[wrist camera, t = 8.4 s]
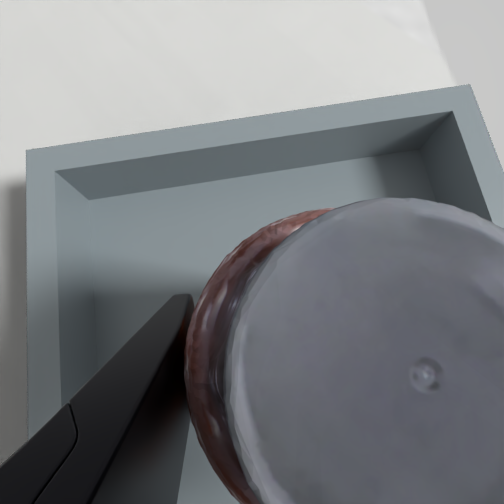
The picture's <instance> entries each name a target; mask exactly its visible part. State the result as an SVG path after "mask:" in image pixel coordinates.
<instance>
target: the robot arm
mask: <svg viewBox="0 0 504 504" xmlns="http://www.w3.org/2000/svg"><path fill="white" fill-rule="evenodd" d="M194 309H195V307H194V301H193V297H192V295H191V294H190V293H185V294H175V295H173V296H172V297H171V298H170V299H169V300H168V301H167V302H166V303H165V304H164V305H163V306H162V307H161V308H160V309H159V310H158V311H157V312H156V313H155V314H154V315H153V316H152V317H151V318H150V319H149V320H148V321H147V322H146V323H145V324H144V325H143V326H142V327H141V328H140V329H139V330H138V331H137V332H136V333H135V334H134V335H133V336H132V337H131V338H130V339H129V340H128V341H127V342H126V343H125V344H124V345H123V346H122V347H121V348H120V349H119V350H118V351H117V352H116V353H115V354H114V355H113V356H112V357H111V358H110V359H109V360H108V361H107V362H106V363H105V364H104V365H103V366H102V367H101V368H100V369H99V370H98V371H97V372H96V373H95V374H94V375H93V376H92V377H91V378H90V379H89V380H88V381H87V382H86V383H85V384H84V385H83V386H82V388H81V389H80V390H79V391H78V392H77V393H76V394H75V395H74V396H73V397H72V398H71V399H70V400H69V403H70V404H69V403H66V404H64V405H63V406H62V407H61V408H60V410H59V411H58V412H57V413H56V414H55V415H54V416H53V417H52V418H51V419H50V420H49V421H48V422H46V423H45V424H44V425H43V426H42V427H41V428H40V429H39V430H38V431H37V432H36V433H35V434H34V435H33V436H32V437H31V438H30V439H29V440H28V441H27V442H26V443H25V444H24V445H23V446H22V447H20V448H19V449H18V450H17V451H16V452H15V453H14V454H13V455H12V456H10V457H9V458H8V459H7V460H6V461H5V462H4V463H3V464H2V465H1V466H0V504H177V500H178V493H179V487H180V481H181V475H182V469H183V463H184V456H185V450H186V444H187V438H188V432H189V425H190V419H191V418H190V414H189V409H188V404H187V399H186V387H185V382H184V349H185V346H186V337H187V332H188V328H189V325H190V322H191V318H192V314H193V312H194Z"/></svg>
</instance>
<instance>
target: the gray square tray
mask: <svg viewBox="0 0 504 504" xmlns="http://www.w3.org/2000/svg"><path fill="white" fill-rule="evenodd" d="M393 197H394V198H417V199H423V200H430V201H434V202H437V203H444V204H448V205H452V206H455V207H457V208H460V209H462V210H465V211H469V212H472V213H475V214H476V215H478V216H479V217H481V218H484V219H486V220H489V221H491V222H493V223H494V224H495V225H497V226H499V227H501V228H504V172H503V169H502V167H501V164H500V161H499V159H498V156H497V154H496V151H495V148H494V146H493V143H492V140H491V138H490V135H489V132H488V130H487V127H486V125H485V122H484V119H483V117H482V114H481V111H480V109H479V106H478V104H477V101H476V98H475V96H474V93H473V90H472V88H471V85H470V84H468V85H462V86H455V87H448V88H441V89H435V90H428V91H421V92H414V93H408V94H401V95H394V96H388V97H381V98H374V99H367V100H361V101H354V102H347V103H340V104H334V105H327V106H320V107H314V108H307V109H300V110H293V111H287V112H280V113H273V114H266V115H260V116H253V117H246V118H239V119H233V120H226V121H219V122H213V123H206V124H199V125H192V126H186V127H179V128H172V129H165V130H159V131H152V132H145V133H139V134H132V135H125V136H118V137H112V138H105V139H98V140H91V141H85V142H78V143H71V144H64V145H58V146H51V147H44V148H38V149H31V150H26V244H27V393H28V440H29V439H30V438H31V437H32V436H33V435H34V434H35V433H36V432H37V431H38V430H39V429H40V428H41V427H42V426H43V425H44V424H45V423H46V422H48V421H49V420H50V419H51V418H52V417H53V416H54V415H55V414H56V413H57V412H58V411H59V410H60V408H61V407H62V406H63V405H64V404H66V403H69V400H70V399H71V398H72V397H73V396H74V395H75V394H76V393H77V392H78V391H79V390H80V389H81V388H82V386H83V385H84V384H85V383H86V382H87V381H88V380H89V379H90V378H91V377H92V376H93V375H94V374H95V373H96V372H97V371H98V370H99V369H100V368H101V367H102V366H103V365H104V364H105V363H106V362H107V361H108V360H109V359H110V358H111V357H112V356H113V355H114V354H115V353H116V352H117V351H118V350H119V349H120V348H121V347H122V346H123V345H124V344H125V343H126V342H127V341H128V340H129V339H130V338H131V337H132V336H133V335H134V334H135V333H136V332H137V331H138V330H139V329H140V328H141V327H142V326H143V325H144V324H145V323H146V322H147V321H148V320H149V319H150V318H151V317H152V316H153V315H154V314H155V313H156V312H157V311H158V310H159V309H160V308H161V307H162V306H163V305H164V304H165V303H166V302H167V301H168V300H169V299H170V298H171V297H172V296H173V295H175V294H185V293H190V294H191V295H192V297H193V301H194V307H196V304H197V302H198V300H199V298H200V295H201V294H202V291H203V289H204V288H205V286H206V284H207V282H208V280H209V279H210V278H211V276H212V275H213V273H214V271H215V270H216V269H217V268H218V266H219V265H220V264H221V262H222V261H223V259H224V258H225V257H226V255H227V254H229V253H231V252H232V251H233V250H234V249H235V247H237V246H238V245H239V244H240V243H241V242H242V241H243V240H245V239H247V238H248V237H250V236H251V235H252V234H254V233H255V232H257V231H258V230H259V229H261V228H262V227H265V226H267V225H269V224H270V223H273V222H275V221H277V220H280V219H283V218H286V217H288V216H291V215H294V214H298V213H302V212H305V211H311V210H318V209H323V208H331V207H332V208H338V207H341V206H345V205H348V204H351V203H354V202H358V201H363V200H370V199H375V198H393ZM69 404H70V403H69ZM177 504H240V503H239V502H238V501H237V500H236V499H235V498H234V497H233V496H232V495H231V494H230V492H229V491H228V489H227V488H226V487H225V486H224V484H223V483H222V481H221V480H220V479H219V477H218V476H217V474H216V473H215V471H214V470H213V468H212V466H211V465H210V463H209V461H208V459H207V457H206V455H205V453H204V451H203V449H202V448H201V446H200V444H199V441H198V439H197V434H196V431H195V428H194V426H193V424H192V422H191V419H190V425H189V432H188V438H187V444H186V450H185V456H184V463H183V469H182V475H181V481H180V487H179V493H178V500H177Z"/></svg>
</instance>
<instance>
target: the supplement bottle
mask: <svg viewBox="0 0 504 504" xmlns="http://www.w3.org/2000/svg"><path fill="white" fill-rule="evenodd" d="M184 382H185V387H186V399H187V404H188V409H189V414H190V418H191V422H192V424H193V426H194V428H195V431H196V434H197V439H198V441H199V444H200V446H201V448H202V449H203V451H204V453H205V455H206V457H207V459H208V461H209V463H210V465H211V466H212V468H213V470H214V471H215V473H216V474H217V476H218V477H219V479H220V480H221V481H222V483H223V484H224V486H225V487H226V488H227V489H228V491H229V492H230V494H231V495H232V496H233V497H234V498H235V499H236V500H237V501H238V502H239V503H240V504H504V228H501V227H499V226H497V225H495V224H494V223H493V222H491V221H489V220H486V219H484V218H481V217H479V216H478V215H476V214H475V213H472V212H469V211H465V210H462V209H460V208H457V207H455V206H452V205H448V204H444V203H437V202H434V201H430V200H423V199H417V198H394V197H393V198H375V199H370V200H363V201H358V202H354V203H351V204H348V205H345V206H341V207H338V208H332V207H331V208H323V209H318V210H311V211H305V212H302V213H298V214H294V215H291V216H288V217H286V218H283V219H280V220H277V221H275V222H273V223H270V224H269V225H267V226H265V227H262V228H261V229H259V230H258V231H257V232H255V233H254V234H252V235H251V236H250V237H248V238H247V239H245V240H243V241H242V242H241V243H240V244H239V245H238V246H237V247H235V249H234V250H233V251H232V252H231V253H229V254H227V255H226V257H225V258H224V259H223V261H222V262H221V264H220V265H219V266H218V268H217V269H216V270H215V271H214V273H213V275H212V276H211V278H210V279H209V280H208V282H207V284H206V286H205V288H204V289H203V291H202V294H201V295H200V298H199V300H198V302H197V304H196V307H195V309H194V312H193V314H192V318H191V322H190V325H189V328H188V332H187V337H186V346H185V349H184Z"/></svg>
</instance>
